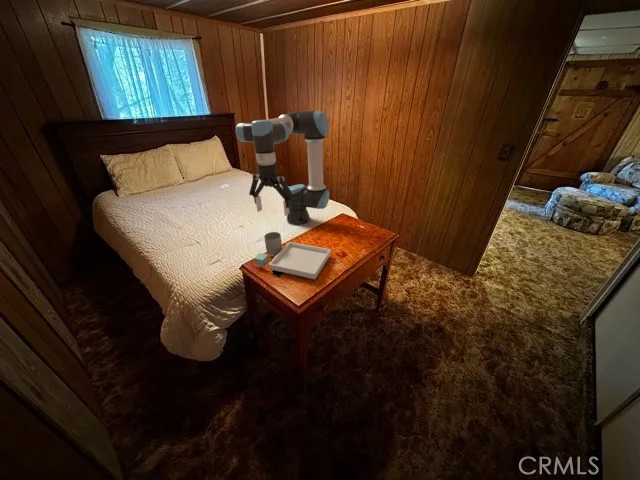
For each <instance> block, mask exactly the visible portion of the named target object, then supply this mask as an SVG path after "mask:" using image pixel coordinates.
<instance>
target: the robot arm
mask: <svg viewBox="0 0 640 480" xmlns="http://www.w3.org/2000/svg"><path fill="white" fill-rule="evenodd" d="M329 124H330V123H329V119H328V116H327V114H326V113H325V112H324V111H321V110H304V111H303V110H301V111H299V110H297V111H293V112H289V113H285V114H281V115H280V116H278V117H275V118H269V119H258V120H257V119H256V120H253V121H252V122H239V123H237V125H236V126H235V131H234V132H235V136H236V138H237V140H238V141H240V142H241V143H253V144H254V151H255V159H256V163H257V165H256V168H257V171H258V172H257V173H254V174H253V175H252V181H251V182H252V183H251V186H250V189H249V192H248V195H249V196H252V197H253V200H254V204H255V205H256V210H257V212H261V211H263V205H262V199H261V195H260V193H261V192H262V190H263V188H264V187H270V188H273V189H275V190H276V191H277V193H278V194H279V195H280V196H281V198H283V212H284V216H286V221H287V224H290V225H296V226H301V225H305V224H307V223H308V222H310V220H311V218H310V217H311V216H310V213H309V211H308V208H311V209H317V210H319V209H320V210H323V209H325V208H326V207H327V206H328V203H329V200H330V191H329V190H328V189H327V187H326V186H327V185H325V184H324V152H323V151H324V149H323V147H324V146H323V145H324V144H323V142H324V140H325V139H326V137H327V135H328V134H329V130H330V125H329ZM290 135H299V136H303V140H304V141H305V142H306V149H307V153H306V154H307V167H308V169H307V171H308V185H307V186H306V185H305V184H303V183H300V184H295V185H291V186H289V185H288V183H287V181H286V177H285V175H282V176H278V166H277V163H276V162H277V158H276V148H275V145H277V144H280V143H284V142H285V141H287V140H288V139H289V137H290ZM259 181H260V183H259Z"/></svg>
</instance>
